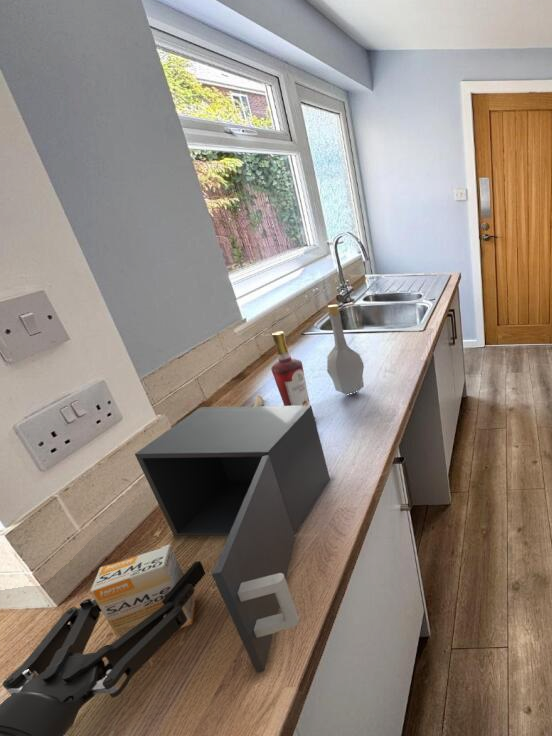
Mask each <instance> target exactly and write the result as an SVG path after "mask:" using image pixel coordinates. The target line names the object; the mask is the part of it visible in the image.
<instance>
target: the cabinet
mask: <svg viewBox="0 0 552 736" xmlns="http://www.w3.org/2000/svg"><path fill="white" fill-rule="evenodd" d="M314 417H315V414H314V411H313V408H312V405H311V404H310V405H306V406H284V405H262V406H253V405H250V406H248V405H247V406H201V407H198V408H197V409H196V410H195V411H193V412H191V413H190V414H188V415H187V416H186V417H185V418H183V419H182V420H180V421H179V422H177V423H176V424H175V425H173V426H172V427H170V428H169V429H167V430H165V432H163V433H162V434H160V435H159V436H157V438H155V439H153V440H152V441H151V442H149V443H148V444H146V445H145V446H144V447H142V448H141V449H140V450H138V451H136V452H135V453H134V457H135V458H136V460H137V462H138V464H139V466H140V468H141V471H142V472H143V475H144V477H145V479H146V481H147V483H148V485H149V487H150V489H151V492H152V493H153V495H154V497H155V499H156V502H157V504H158V506H159V508H160V510H161V512H162V514H163V516H164V518H165V520H166V523H167V525H168V526H169V528H170V531H171V533H172V535H173V537H176V538H177V537H228V536H229V533H230V531H231V529H232V526H233V524H234V522H235V519H236V517H237V515H238V512H239V510H240V508H241V505H242V503H243V501H244V498H245V496H246V494H247V491H248V489H249V487H250V484H251V482H252V480H253V477H254V475H255V473H256V470H257V468H258V466H259V463H260V461H261V459H262V456H266V455H269V457H270V461H271V464H272V467H273V470H274V473H275V476H276V479H277V482H278V485H279V488H280V492H281V495H282V498H283V501H284V504H285V507H286V510H287V513H288V516H289V519H290V522H291V526H292V529H293V532H294V535H295V536H296V534H297V533H298V531H299V530H300V529H301V526H302V525H303V523H304V522H305V520H306V519H307V517H308V516H309V514H310V513H311V511H312V509H313V507H314V506H315V504H316V503H317V501H318V500H319V498H320V496H321V495H322V494H323V492H324V490H325V489H326V487H327V486H328V484H329V482H330V481H331V477H330V473H329V469H328V465H327V462H326V461H327V460H326V457H325V453H324V449H323V445H322V442H321V438H320V434H319V431H318V426H317V423H316V417H315V418H314Z"/></svg>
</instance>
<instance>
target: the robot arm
mask: <svg viewBox="0 0 552 736" xmlns="http://www.w3.org/2000/svg"><path fill="white" fill-rule="evenodd" d="M183 574H184V576H183V577H182V578H181V579H180V580H179V581H178V583H177V584H176V585H175V586H174V587H173V588H172V590H171V591H170V592H169V593H168V594H167V596H166V597H165V598H164V599H163V600H162V602H163V604H164V606H162V607H161V608H159V609H158V610H157V611H155V612H154V613H153V614H151V615H150V616H149V617H147V618H146V619H145V620H143V621H142V622H141V623H139V624H138V625H136V626H135V627H134V628H132V629H131V630H130V631H128V632H127V633H126V634H124V635H123V636H122V637H120V638H119V639H118V638H117V639H116V640H115V641H113V642H112V643H111V644H105V645H103V646H102V647H100V648H99V649H97V650H96V651H94V652H90V653H85V654H84V651H85V649H86V647H87V645H88V642H89V641H90V638H91V636H92V634H93V632H94V629H95V628H96V625H97V624H98V622H99V619H100V617H101V613H102V610H101V609H100V607H99V606H98V604H97V602H96V601H95V599H94V598H93V600H92V599H91V598H86V599H84V600H82V601H81V602H80V603H79V608H77V607H76V606H72V607H69V608H68V609H67V610H66V611H65V612H64V613H63V614H62V615H61V617H60V618H59V619H58V620H57V622H56V623H55V624H54V625H53V627H52V628H51V629H50V630H49V631H48V633H46V635H44V637H43V639H42V640H41V641H40V642H39V643H38V645H37V646H36V647H35V648H34V650H32V652H31V653H30V654H29V656H28V657H27V658H26V659H25V661H24V662H23V663H22V664H21V665H20V666H18V668H17V669H15V670H14V671H13V672H12V673H10V675H9V676H7V677H6V678H5V680H3V682H2V683H1V685H2V686H3V688H4V689H5V690H6V691H7V692H8V693H9V694H10V695H9V696H8V697H6V698H5V699H4V700H3V701H2V702H1V703H0V736H65V735H66V734H67V733H68V731H70V729H71V728H72V727H73V725H74V723H75V721H76V718H77V715H78V713H79V711H80V710H81V709H82V708H83V706H84V705H85V704H86V703H88V702H89V701H91V700H92V699H93V698H95V696H96V695H100V694H109V696H110V697H111V698H116V697H118V696H119V695H121V694H122V692H123V691H124V690H125V688H126V687H127V685H128V684H129V682H130V681H131V680H132V678H133V677H134V676H135V674H136V673H137V672H138V671H139V670H140V669H142V667H143V666H144V665H145V664H146V663H147V662H148V661H150V659H151V658H152V657H153V656H154V655H155V654H156V653H157V652H159V651H160V649H161V648H162V647H163V646H164V645H165V644H166V643H167V642H168V641H169V640H170V639H171V638H172V637H173V636H174V635H175V634H176V633H177V632H178V631H179V630H180V629H182V628H181V627H182V626H183V625H184V624H185V623H186V621H187V617H186V615H185V613H184V611H183V609H182V607H183V606H184V605H185V603H186V602H187V601H188V599H189V598H190V597H191V596H192V594H193V595H194V593H195V588H196V587H197V585H198V584H199V583H200V582H201V580H202V579H203V577H204V576H206V574H207V573H206V571H205V568H204V567H203V564H202V562H201V561H199V560H197V561H194V563H193V564H192V565H191V566H190V567H189V568H188V570H186V572H185V573H183ZM164 615H166V617H164ZM104 658H106V660H107V661H108V662H107V664H106V663H105V661H104Z"/></svg>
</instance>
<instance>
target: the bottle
mask: <svg viewBox="0 0 552 736" xmlns="http://www.w3.org/2000/svg"><path fill="white" fill-rule="evenodd" d="M327 310H328V317H329V320H330V324H331V328H332V333H333V337H334V347H333V348H332V349H331V350H330V352H329V354H328V355H327V357H326V358H327V362H326V363H327V364H326V372H327V374H328V375H329V377H330V378H331V380H332V382H333V387H334V389H335V391H336V392H339V393H341V394H344V395H347V394H349V395H347V396H353V395H355V394H357V393H358V392H359V391H361V390H362V389H363V388H364V387H365V385H364V384H365V383H364V376H363V375H364V368H365V364H364V361H363V359H362V357H361V354H360V353H358V352H357V351H355V350H353V349H352V348H351V347H349V346H348V344H347V341H346V338H345V333H344V329H343V324H342V319H341V318H342V317H341V312H340V311H339V305H338V304H330V305H329V304H328V305H327ZM358 390H359V391H358ZM356 391H358V392H356ZM354 392H355V393H354ZM350 393H352V394H350Z"/></svg>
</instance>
